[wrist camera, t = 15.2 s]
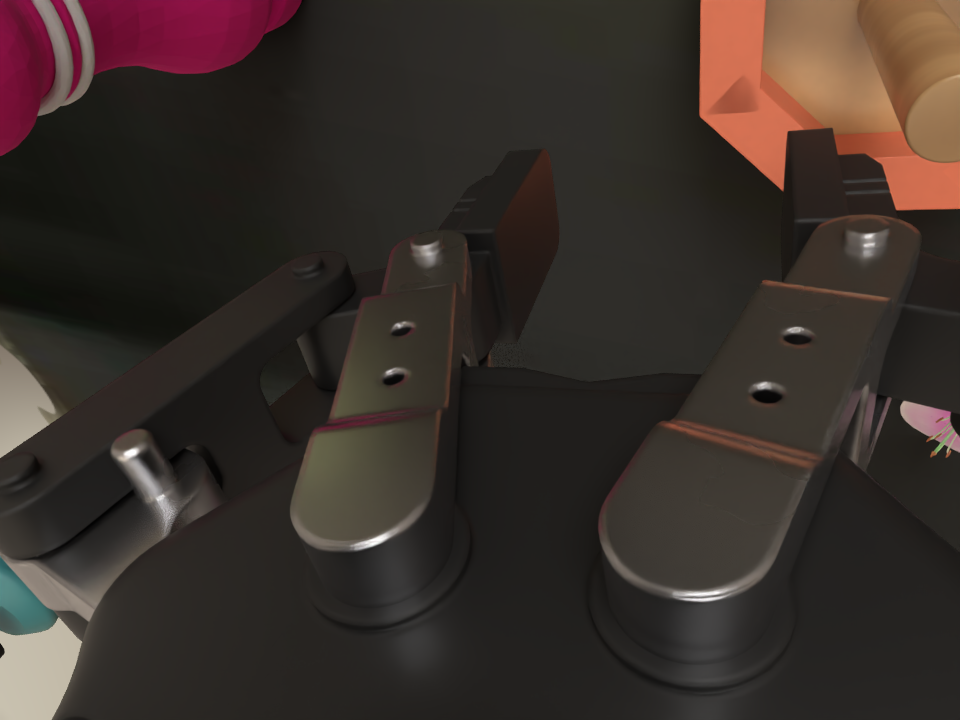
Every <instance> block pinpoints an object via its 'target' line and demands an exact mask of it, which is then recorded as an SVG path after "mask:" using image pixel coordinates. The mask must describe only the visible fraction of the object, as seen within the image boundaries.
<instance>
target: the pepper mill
mask: <svg viewBox="0 0 960 720" xmlns="http://www.w3.org/2000/svg"><path fill="white" fill-rule="evenodd" d="M301 1H302V0H0V156H2V155H4V154H5V153H7V152H9V151H10V150H12V149H14V148H15V147H17V146H18V145H19V144H20V143H21V142H22V141H23V139H24V138H25V137H26V136H27V135H28V134H29V132H30V131H31V129H32V128H33V126H34V124H35V121H36V118H37V116H40V115H44V114H47V113H50V112H53V111H54V110H55V109H57V108H58V107H59V106H64V105H68V104H70V103H72V102H74V101H76V100H77V99H79V98H80V97H82V96H83V95H84V93H85V92H86V91H87V89H88V87H89V85H90V83H91V81H92V78H93V75H95V74H97V73H99V72H102V71H106V70H109V69H113V68H116V67H123V66H143V67H147V68H151V69H156V70H161V71H166V72H171V73H177V74H197V73H208V72H212V71H215V70H218V69H221V68H224V67H227V66H230V65H233V64H235V63H237V62H238V61H240V60H242V59H244V58H245V57H246V56H247V55H248V54H249V53H250V52H251V51H252V50H254V49H255V48H256V46H257V45H258V43H259V42H260V41H261V39H262V37H263V35H264V34H266V33H268V32H270V31H272V30H274V29H276V28H278V27H280V26H282V25H283V24H285V23H286V22H287V21H288V20H289V19H290V18H291V17H292V16H293V15H294V14H295V13H296V11H297V9H298V8H299V6H300V4H301Z"/></svg>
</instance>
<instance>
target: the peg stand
mask: <svg viewBox="0 0 960 720" xmlns="http://www.w3.org/2000/svg"><path fill="white" fill-rule="evenodd" d="M762 70H764V71H765V72H766V73H767V74H768V75H769V76H770V77H771V78H772V79H773V80H774V81H775V82H776V83H778V84H779V85H780V86H781V87H782V88H783V89H784V90H785V91H786V92H787V93H788V94H789V95H790V96H792V97H793V98H794V99H795V100H796V101H797V102H798V103H799V104H800V105H801V106H802V107H803V108H804V109H805V110H807V111H808V112H809V113H810V114H811V115H812V116H813V117H814V118H815V119H816V120H817V121H818V122H819V123H821V124H822V125H823V126H824V127H825V128H833V132H834V135H843V134H861V133H880V132H898V131H902V132H903V134H904V136H905V139H906V141H907V144H908V145H909V147H910V148H911V150H912V151H913V152H914V153H916V154H917V155H918V156H920V157H922V158H923V159H926V160H928V161H932V162H938V163H952V162H958V161H960V0H766V9H765V26H764V44H763V61H762Z"/></svg>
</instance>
